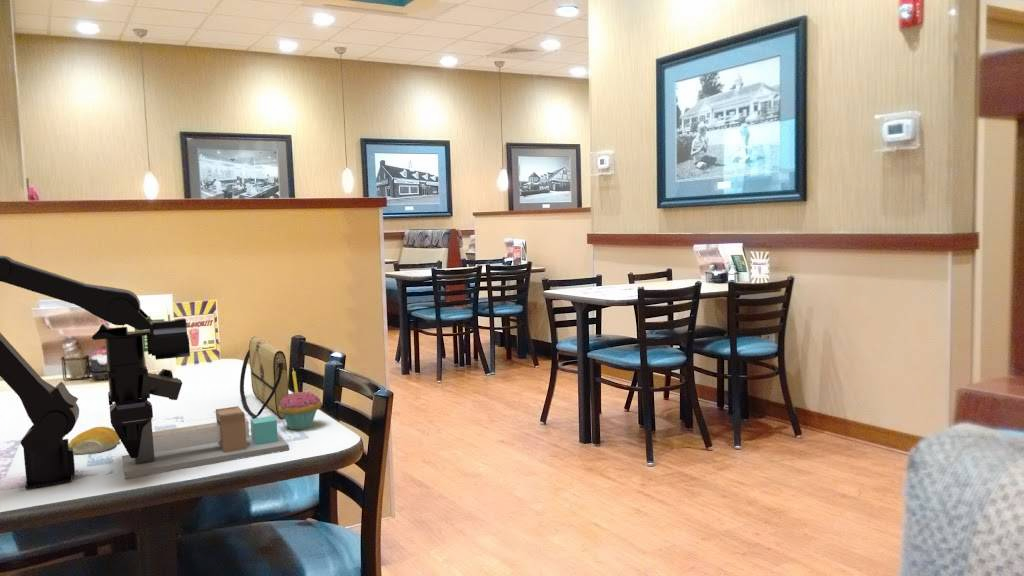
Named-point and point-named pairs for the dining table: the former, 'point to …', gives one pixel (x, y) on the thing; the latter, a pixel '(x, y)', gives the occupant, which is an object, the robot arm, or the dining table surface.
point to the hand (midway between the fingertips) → (133, 451)
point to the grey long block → (178, 438)
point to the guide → (207, 448)
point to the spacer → (264, 430)
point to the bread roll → (94, 440)
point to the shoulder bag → (265, 375)
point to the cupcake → (299, 407)
